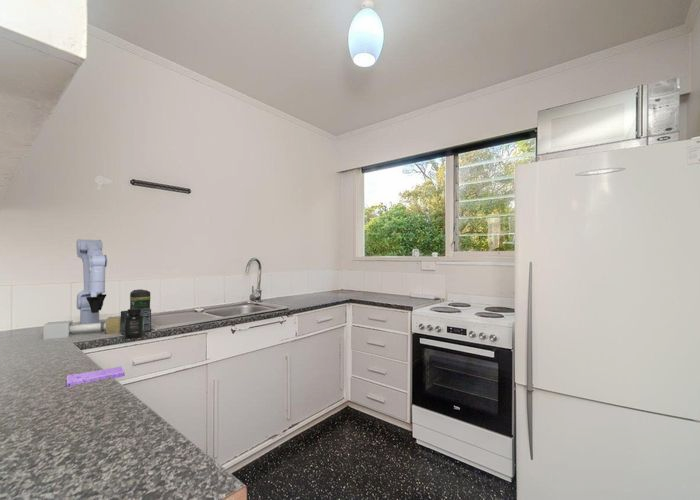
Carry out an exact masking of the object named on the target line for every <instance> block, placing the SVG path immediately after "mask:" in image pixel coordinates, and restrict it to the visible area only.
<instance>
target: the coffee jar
mask: <svg viewBox="0 0 700 500" xmlns="http://www.w3.org/2000/svg"><path fill="white" fill-rule="evenodd" d="M129 301H130V302H129V309H132V308H141V309H144V308H147V309H151V291H149V290H147V289H146V290H145V289H134V290H132V291H131V292H130V293H129Z"/></svg>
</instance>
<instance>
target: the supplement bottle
mask: <svg viewBox="0 0 700 500" xmlns="http://www.w3.org/2000/svg"><path fill="white" fill-rule="evenodd" d="M127 310H128V313H127V314H128V315H127V316H126V317H125V332H124V335H123V336H124V338H125V339H138V338H142V337H143V336H144V333H145V332H144V316H143V315H142V314H141V308H132V309H130V308H128V309H127Z"/></svg>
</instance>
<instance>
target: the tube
mask: <svg viewBox="0 0 700 500" xmlns="http://www.w3.org/2000/svg"><path fill="white" fill-rule="evenodd" d="M95 331H101V332H104V331H106V321H101V322H99V323H94V324H81V325H80V324H73V325H69V333H72V334H74V333H83V332H95Z"/></svg>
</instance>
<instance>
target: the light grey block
mask: <svg viewBox="0 0 700 500" xmlns="http://www.w3.org/2000/svg"><path fill="white" fill-rule="evenodd" d="M73 322H74V321H73V320H62V321H49V322H47V323H45V324H44V325H43V338H42V339H43V340H44V341H47V340H56V339H65V338H67V339H68V338H70V337H72V335H73V333H69V325H74V324H73Z"/></svg>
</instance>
